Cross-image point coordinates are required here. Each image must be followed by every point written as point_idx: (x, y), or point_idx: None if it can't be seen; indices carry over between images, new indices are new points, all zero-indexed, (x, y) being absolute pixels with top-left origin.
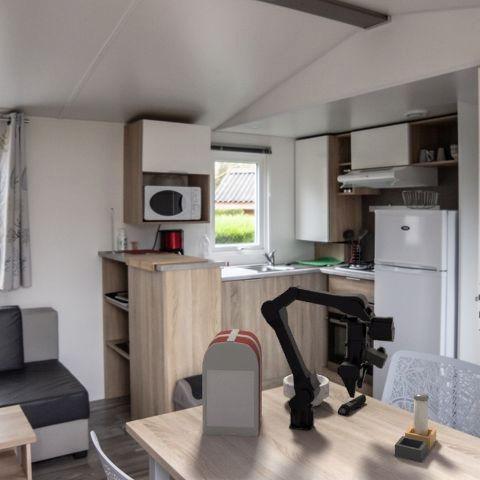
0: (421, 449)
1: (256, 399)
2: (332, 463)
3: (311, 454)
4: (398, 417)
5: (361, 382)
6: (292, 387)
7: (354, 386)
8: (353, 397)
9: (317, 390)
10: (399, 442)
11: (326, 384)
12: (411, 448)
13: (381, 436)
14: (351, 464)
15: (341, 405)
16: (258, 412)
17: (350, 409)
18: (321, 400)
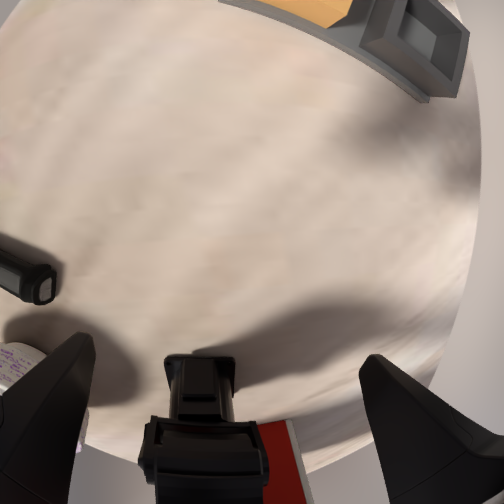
0: (464, 27)
1: (309, 488)
2: (433, 269)
3: (389, 320)
4: (10, 79)
5: (71, 377)
6: (83, 444)
7: (452, 417)
8: (380, 357)
9: (206, 463)
10: (439, 73)
11: (1, 383)
12: (465, 53)
13: (222, 111)
14: (443, 224)
15: (28, 302)
16: (297, 461)
17: (24, 265)
18: (27, 353)
